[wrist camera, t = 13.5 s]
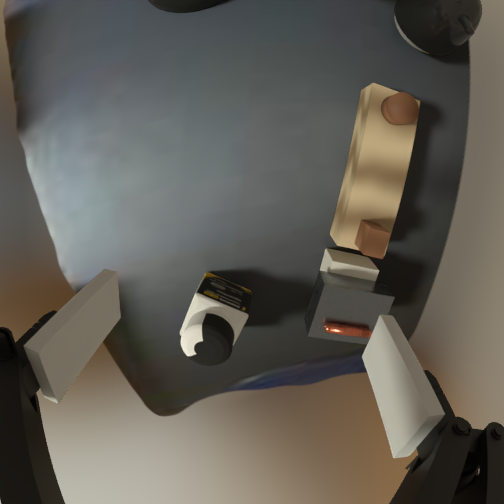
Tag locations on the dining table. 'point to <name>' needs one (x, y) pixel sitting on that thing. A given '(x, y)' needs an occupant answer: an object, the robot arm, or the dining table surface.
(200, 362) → the medicine bottle
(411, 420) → the robot arm
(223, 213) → the dining table surface
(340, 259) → the block
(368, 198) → the cream wooden plank
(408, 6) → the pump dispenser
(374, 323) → the lever cap
